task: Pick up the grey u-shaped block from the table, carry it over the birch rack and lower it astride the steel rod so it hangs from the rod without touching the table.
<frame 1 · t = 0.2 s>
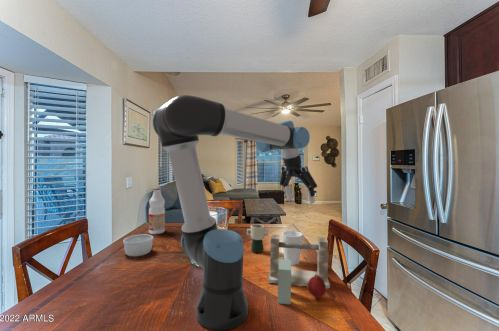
hand: (300, 200, 109), 28 cm above the table, tool tilted 20°, fingers open, 13 cm apart
onion: (316, 298, 80), on the table
grey u-shaped block: (284, 297, 80), on the table
rack: (297, 279, 92), on the table
character mug: (257, 251, 120), on the table
fruit juice: (156, 232, 150), on the table
ramekin: (138, 252, 117), on the table
foam cup: (291, 262, 108), on the table
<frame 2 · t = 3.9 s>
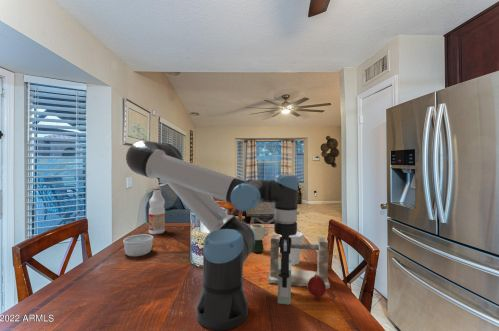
hand: (284, 288, 80), 3 cm above the table, tool pointing down, fingers closed on grey u-shaped block, 8 cm apart
grey u-shaped block: (284, 296, 80), on the table, touching gripper
everything else where it was.
when the fingers open (10 cm above the table, at t = 10.8 s): grey u-shaped block drops 1 cm, resting on rack.
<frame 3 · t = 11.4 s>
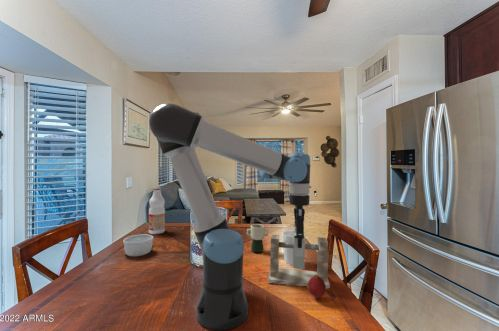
hand: (298, 249, 92), 12 cm above the table, tool pointing down, fingers open, 13 cm apart
grey u-shaped block: (298, 264, 92), point 6 cm above the table, touching rack
everything else where it was.
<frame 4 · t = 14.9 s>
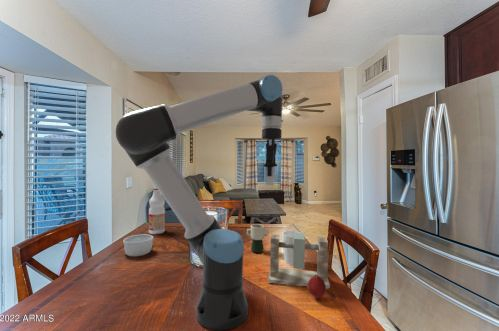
hand: (270, 183, 92), 37 cm above the table, tool pointing down, fingers open, 13 cm apart
nothing on the table moved.
at the end: grey u-shaped block inside the target area on the rack (0.1 cm from its centre), point 6.0 cm above the rack's base; grey u-shaped block touching rack; the gripper is holding nothing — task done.
